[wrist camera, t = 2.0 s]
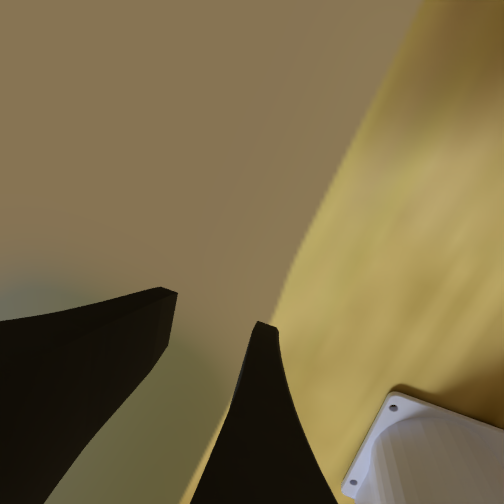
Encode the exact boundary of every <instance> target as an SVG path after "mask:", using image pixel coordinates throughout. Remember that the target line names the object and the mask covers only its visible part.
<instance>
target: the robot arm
mask: <svg viewBox="0 0 504 504" xmlns="http://www.w3.org/2000/svg"><path fill="white" fill-rule="evenodd" d="M177 295H178V293H177V292H174V291H171V290H169V289H165V288H163V287H157V288H152V289H148V290H144V291H140V292H136V293H133V294H129V295H126V296H121V297H118V298H114V299H110V300H106V301H103V302H99V303H94V304H90V305H86V306H81V307H77V308H73V309H68V310H64V311H59V312H55V313H49V314H44V315H38V316H32V317H25V318H19V319H13V320H5V321H0V504H44V502H45V501H46V500H47V498H48V496H49V495H50V494H51V493H52V491H53V490H54V488H55V487H56V486H57V484H58V483H59V481H60V480H61V479H62V477H63V476H64V475H65V473H66V472H67V471H68V469H69V468H70V467H71V465H72V464H73V462H74V461H75V460H76V458H77V457H78V456H79V454H80V453H81V451H82V450H83V449H84V448H85V447H86V445H87V444H88V443H89V442H90V440H91V439H92V438H93V437H94V436H95V434H96V433H97V432H98V431H99V430H100V428H101V427H102V426H103V425H104V424H105V423H106V422H107V421H108V419H109V418H110V417H111V416H112V415H113V414H114V413H115V411H116V410H117V409H118V408H119V407H120V406H121V405H122V404H123V402H124V401H125V400H126V399H127V398H128V397H129V396H130V394H131V393H132V392H133V391H134V390H135V389H136V387H137V386H138V385H139V384H140V383H141V382H142V381H143V379H144V378H145V377H146V376H147V375H148V374H149V372H150V371H151V370H152V368H153V367H154V365H155V364H156V363H157V361H158V360H159V358H160V357H161V355H162V354H163V352H164V351H165V349H166V348H167V346H168V343H169V338H170V332H171V327H172V321H173V316H174V311H175V306H176V300H177ZM391 405H396V406H395V407H390V406H391ZM341 491H342V493H343V494H344V495H346V496H348V497H350V498H353V499H355V504H504V430H502V429H500V428H497V427H494V426H491V425H489V424H486V423H483V422H480V421H477V420H475V419H472V418H469V417H466V416H464V415H461V414H458V413H455V412H453V411H450V410H447V409H444V408H442V407H439V406H436V405H433V404H430V403H428V402H425V401H422V400H419V399H417V398H414V397H411V396H408V395H406V394H403V393H400V392H396V391H394V392H391V393H389V394H388V395H387V397H386V399H385V401H384V403H383V405H382V407H381V409H380V411H379V413H378V415H377V417H376V418H375V420H374V422H373V424H372V426H371V428H370V430H369V432H368V434H367V436H366V438H365V440H364V442H363V443H362V445H361V447H360V449H359V451H358V453H357V455H356V457H355V459H354V461H353V463H352V465H351V467H350V468H349V470H348V472H347V474H346V476H345V478H344V480H343V482H342V484H341ZM190 504H338V503H337V501H336V499H335V497H334V495H333V493H332V491H331V489H330V487H329V485H328V483H327V482H326V480H325V478H324V476H323V474H322V472H321V470H320V468H319V465H318V463H317V461H316V459H315V457H314V454H313V452H312V450H311V448H310V445H309V443H308V441H307V438H306V436H305V433H304V431H303V428H302V426H301V423H300V421H299V418H298V415H297V412H296V409H295V407H294V403H293V400H292V397H291V394H290V391H289V387H288V384H287V380H286V376H285V372H284V367H283V363H282V358H281V352H280V345H279V331H278V329H277V327H274V326H271V325H268V324H265V323H262V322H259V321H257V323H256V325H255V327H254V329H253V331H252V334H251V337H250V341H249V344H248V347H247V351H246V354H245V357H244V361H243V364H242V368H241V371H240V374H239V378H238V381H237V384H236V388H235V391H234V395H233V398H232V401H231V405H230V409H229V412H228V414H227V417H226V419H225V421H224V424H223V426H222V429H221V431H220V434H219V436H218V438H217V441H216V443H215V446H214V448H213V450H212V453H211V455H210V458H209V460H208V462H207V465H206V467H205V469H204V472H203V474H202V476H201V479H200V481H199V484H198V486H197V488H196V491H195V493H194V495H193V498H192V500H191V502H190Z"/></svg>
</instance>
